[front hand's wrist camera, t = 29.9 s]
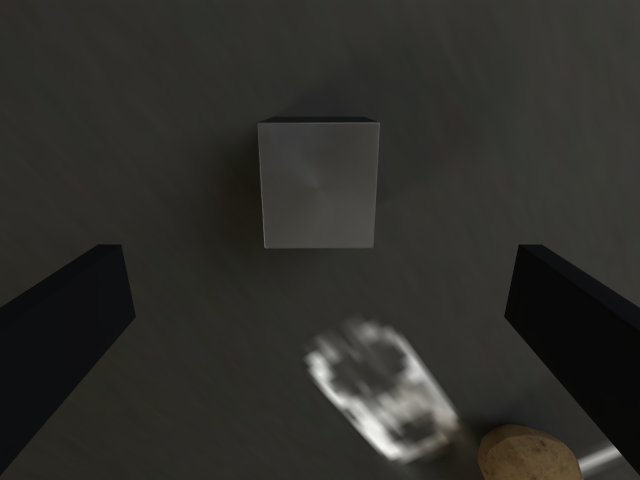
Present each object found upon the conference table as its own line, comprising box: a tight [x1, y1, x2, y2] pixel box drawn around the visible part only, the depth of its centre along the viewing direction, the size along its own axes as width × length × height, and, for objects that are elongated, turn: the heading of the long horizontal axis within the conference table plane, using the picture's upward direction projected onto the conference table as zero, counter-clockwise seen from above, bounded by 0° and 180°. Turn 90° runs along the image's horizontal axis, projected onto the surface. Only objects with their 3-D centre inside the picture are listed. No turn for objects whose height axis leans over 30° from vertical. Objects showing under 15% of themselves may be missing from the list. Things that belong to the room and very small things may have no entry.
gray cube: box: [257, 117, 380, 249], centre depth 28 cm, size 8×8×8 cm
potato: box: [478, 423, 584, 480], centre depth 39 cm, size 10×14×8 cm
